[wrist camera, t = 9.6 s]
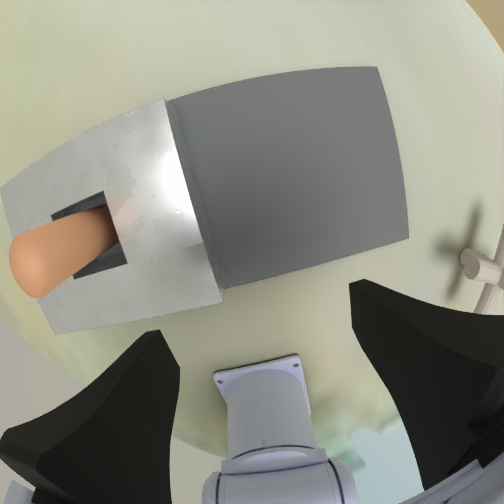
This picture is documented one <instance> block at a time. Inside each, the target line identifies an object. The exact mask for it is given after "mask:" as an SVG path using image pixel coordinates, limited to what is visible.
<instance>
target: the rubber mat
mask: <svg viewBox="0 0 504 504" xmlns="http://www.w3.org/2000/svg"><path fill="white" fill-rule="evenodd" d="M167 102H168V103H170V104H171V105H172V106H173V107H174V108H175V109H176V110H177V111H179V115H180V119H181V123H182V127H183V131H184V135H185V138H186V142H187V146H188V150H189V153H190V157H191V161H192V165H193V168H194V172H195V175H196V179H197V183H198V186H199V190H200V193H201V197H202V200H203V204H204V207H205V211H206V214H207V218H208V221H209V224H210V228H211V231H212V234H213V238H214V241H215V244H216V248H217V251H218V254H219V258H220V261H221V264H222V267H223V270H224V274H225V282H224V289H226V288H230V287H234V286H238V285H242V284H246V283H250V282H254V281H258V280H262V279H265V278H269V277H273V276H277V275H281V274H285V273H288V272H292V271H296V270H300V269H303V268H307V267H311V266H315V265H318V264H322V263H326V262H329V261H333V260H336V259H340V258H343V257H347V256H350V255H354V254H357V253H361V252H364V251H368V250H371V249H375V248H378V247H381V246H385V245H388V244H392V243H395V242H398V241H401V240H405V239H408V238H409V229H408V215H407V205H406V196H405V187H404V180H403V173H402V167H401V161H400V155H399V150H398V144H397V139H396V135H395V130H394V126H393V121H392V117H391V113H390V109H389V105H388V102H387V98H386V94H385V91H384V88H383V84H382V81H381V78H380V75H379V72H378V69H377V67H337V68H323V69H311V70H302V71H294V72H286V73H280V74H273V75H267V76H262V77H256V78H251V79H246V80H242V81H237V82H233V83H229V84H224V85H220V86H217V87H213V88H209V89H205V90H202V91H198V92H195V93H192V94H188V95H185V96H182V97H179V98H176V99H173V100H170V101H167ZM106 203H107V201H106V197H105V194H104V195H101V196H99V197H97V198H94V199H92V200H90V201H87V202H85V203H83V204H81V208H82V211H84V210H87V209H90V208H93V207H96V206H99V205H102V204H106ZM121 252H124V251H123V249H122V246H121V243H120V242H119V243H117V244H116V245H114V246H113V247H111V248H110V249H108V250H107V251H105V252H104V253H102V254H101V255H100V256H98V257H99V259H102V258H105V257H108V256H111V255H114V254H117V253H121Z"/></svg>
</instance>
